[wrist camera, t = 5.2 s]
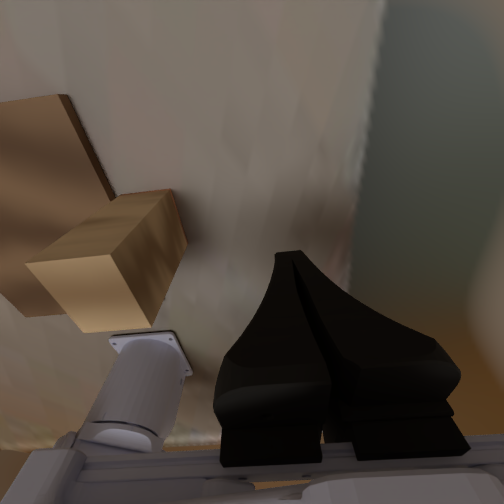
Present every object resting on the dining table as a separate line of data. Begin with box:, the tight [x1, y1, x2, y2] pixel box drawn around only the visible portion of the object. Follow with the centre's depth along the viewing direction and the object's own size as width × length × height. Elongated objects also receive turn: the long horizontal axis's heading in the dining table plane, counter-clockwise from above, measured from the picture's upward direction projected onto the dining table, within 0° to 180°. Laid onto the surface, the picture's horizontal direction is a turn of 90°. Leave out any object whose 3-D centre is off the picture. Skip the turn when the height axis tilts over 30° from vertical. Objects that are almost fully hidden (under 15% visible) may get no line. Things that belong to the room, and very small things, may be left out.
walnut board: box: [0, 94, 115, 317], centre depth 19 cm, size 18×15×1 cm
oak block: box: [24, 189, 188, 333], centre depth 15 cm, size 5×4×9 cm
